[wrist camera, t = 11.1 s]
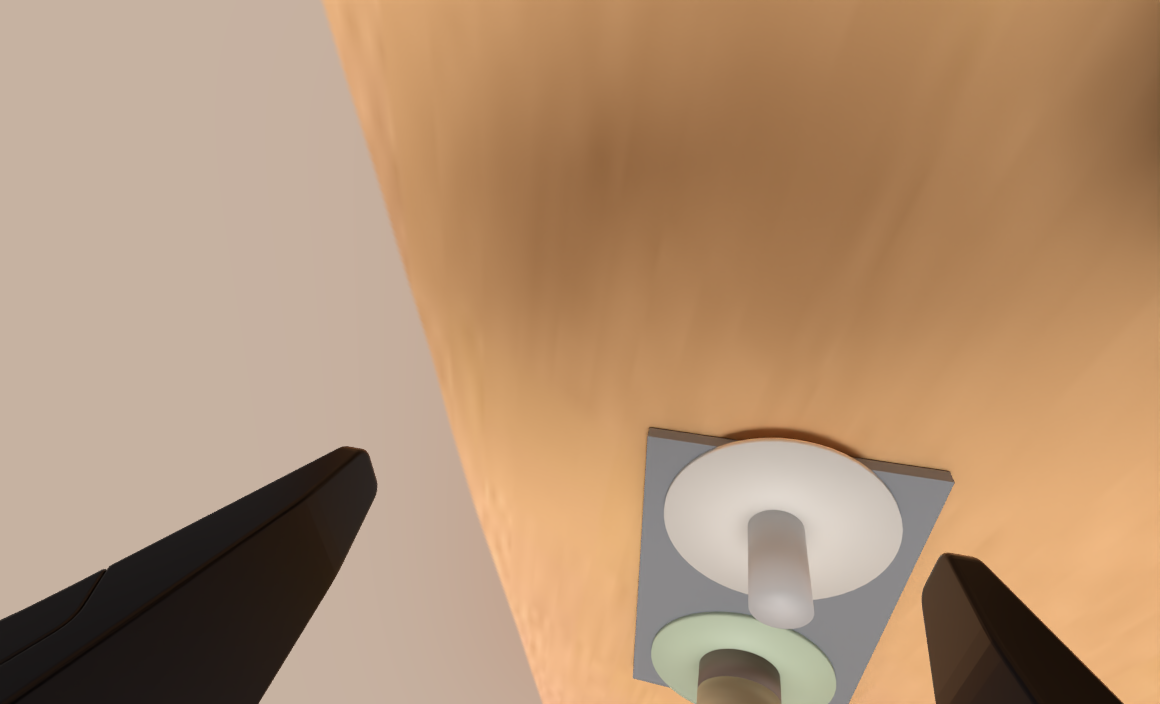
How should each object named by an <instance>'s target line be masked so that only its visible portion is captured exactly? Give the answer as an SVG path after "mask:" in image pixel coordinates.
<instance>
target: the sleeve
mask: <svg viewBox="0 0 1160 704" xmlns="http://www.w3.org/2000/svg"><path fill="white" fill-rule="evenodd" d="M696 704H782V702H781V683H780V674H779V672H778V670H777V669H776V667H775V666H774V665H773V664H772V663H770V662H769V661H768V660H766V659H765V658H763V657H761V656H759V655H756V654H754V653H751V652H747V651H744V650H738V649H718V650H714V651H711V652H708V653H706V654H705V655H704V656H703V657H702V658H701V660H700V662H699V675H698V689H697V703H696Z"/></svg>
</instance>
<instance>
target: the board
mask: <svg viewBox="0 0 1160 704" xmlns="http://www.w3.org/2000/svg"><path fill="white" fill-rule="evenodd" d="M954 483H955V482H954V480H953V478H952V475H951V473H950V472H948V471H942V470H935V469H928V468H921V467H914V466H908V465H901V464H894V463H887V462H880V461H874V460H867V459H860V458H853V457H850V456H848V455H846V454H844V453H842V452H839V451H837V450H835V449H832V448H830V447H826V446H823V445H820V444H816V443H813V442H807V441H802V440H797V439H787V438H756V439H746V440H741V441H738V440H731V439H724V438H717V437H711V436H704V435H697V434H690V433H684V432H677V431H670V430H663V429H656V428H649V433H648V439H647V456H646V472H645V488H644V505H643V521H642V538H641V554H640V570H639V587H638V603H637V620H636V636H635V653H634V669H633V678H634V679H638V680H642V681H646V682H650V683H654V684H658V685H662V686H666V687H670V688H671V689H672V690H674V691H675V692H676V693H678V694H679V695H681V696H682V697H684V698H685V699H687V700H689V701H691V702H692V703H694V704H696V703H697V689H698V675H699V662H700V660H701V658H702V657H703V656H704V655H705V654H706V653H708V652H711V651H714V650H718V649H738V650H744V651H747V652H751V653H754V654H756V655H759V656H761V657H763V658H765V659H766V660H768V661H769V662H770V663H772V664H773V665H774V666H775V667H776V669H777V670H778V672H779V674H780V683H781V702H782V704H849V702H850V700H851V697H852V695H853V693H854V691H855V689H856V687H857V685H858V683H859V681H860V679H861V677H862V675H863V672H864V670H865V668H866V666H867V664H868V662H869V660H870V658H871V656H872V654H873V652H874V650H875V647H876V645H877V643H878V641H879V639H880V637H881V635H882V633H883V631H884V629H885V627H886V625H887V622H888V620H889V618H890V616H891V614H892V612H893V610H894V608H895V606H896V604H897V602H898V600H899V597H900V595H901V593H902V591H903V589H904V587H905V585H906V583H907V581H908V579H909V577H910V575H911V572H912V570H913V568H914V566H915V564H916V562H917V560H918V558H919V556H920V554H921V552H922V550H923V547H924V545H925V543H926V541H927V539H928V537H929V535H930V533H931V531H932V529H933V527H934V524H935V522H936V520H937V518H938V516H939V514H940V512H941V510H942V508H943V506H944V504H945V502H946V499H947V497H948V495H949V493H950V491H951V489H952V487H953V485H954Z"/></svg>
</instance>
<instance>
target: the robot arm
mask: <svg viewBox="0 0 1160 704" xmlns="http://www.w3.org/2000/svg"><path fill="white" fill-rule="evenodd" d="M376 492H377V480H376V476H375V473H374V470H373V467H372V463H371V460H370V456H369V454H368V453H367V451H366V450H364V449H360V448H354V447H348V446H345V447H340V448H338V449H336V450H334V451H332V452H330V453H328V454H327V455H325V456H322V457H321V458H319V459H317V460H315V461H313V462H311V463H309V464H307V465H305V466H303V467H301V468H299V469H298V470H295V471H293V472H291V473H289V474H288V475H286V476H284V477H282V478H280V479H278V480H276V481H274V482H272V483H270V484H268V485H266V486H264V487H262V488H260V489H259V490H256V491H254V492H253V493H251V494H249V495H247V496H245V497H243V498H241V499H239V500H237V501H235V502H233V503H231V504H229V505H227V506H225V507H223V508H221V509H219V510H218V511H216V512H214V513H212V514H210V515H208V516H206V517H204V518H202V519H200V520H198V521H196V522H194V523H192V524H190V525H188V526H186V527H184V528H182V529H181V530H179V531H177V532H175V533H173V534H171V535H169V536H167V537H165V538H163V539H161V540H159V541H157V542H155V543H153V544H151V545H149V546H147V547H146V548H144V549H142V550H140V551H138V552H136V553H134V554H132V555H130V556H128V557H126V558H124V559H122V560H120V561H118V562H116V563H114V564H112V565H111V566H109V568H108V569H107V570H106V569H103V570H101V571H99V572H97V573H95V574H93V575H91V576H89V577H87V578H85V579H83V580H81V581H79V582H77V583H75V584H73V585H72V586H69V587H68V588H65V589H64V590H61V591H59V592H58V593H55V594H53V595H51V596H49V597H47V598H45V599H44V600H41V601H39V602H37V603H35V604H33V605H32V606H29V607H27V608H25V609H23V610H21V611H19V612H17V613H15V614H12V615H10V616H8V617H6V618H4V619H2V620H0V704H259V702H260V700H261V699H262V697H263V695H264V694H265V692H266V691H267V689H268V687H269V686H270V684H271V682H272V680H273V679H274V677H275V676H276V674H277V672H278V671H279V669H280V668H281V666H282V664H283V663H284V661H285V659H286V658H287V656H288V654H289V653H290V651H291V650H292V648H293V646H294V644H295V643H296V641H297V640H298V638H299V637H300V635H301V633H302V632H303V630H304V628H305V627H306V625H307V623H308V622H309V620H310V619H311V617H312V615H313V614H314V612H315V610H316V609H317V607H318V605H319V604H320V602H321V601H322V599H323V597H324V596H325V594H326V592H327V591H328V589H329V587H330V586H331V584H332V582H333V580H334V579H335V577H336V575H337V573H338V572H339V570H340V568H341V566H342V564H343V562H344V560H345V558H346V555H347V554H348V552H349V549H350V548H351V545H352V543H353V541H354V539H355V537H356V535H357V533H358V531H359V529H360V527H361V525H362V523H363V521H364V519H365V517H366V515H367V513H368V510H369V509H370V506H371V504H372V502H373V500H374V498H375V496H376ZM922 609H923V616H924V623H925V630H926V637H927V644H928V651H929V658H930V666H931V673H932V680H933V687H934V694H935V701H936V704H1124V703H1123V702H1122V701H1121V700H1120V699H1119V698H1118V697H1117V696H1116V695H1115V694H1114V693H1113V692H1112V691H1111V690H1110V689H1109V688H1108V687H1107V686H1106V685H1105V684H1104V683H1103V682H1102V681H1101V680H1100V679H1099V678H1098V677H1097V676H1096V675H1095V674H1094V673H1093V672H1092V671H1091V670H1090V669H1089V668H1088V667H1087V666H1086V665H1085V664H1084V663H1083V662H1082V661H1081V660H1080V659H1079V658H1078V657H1077V656H1076V655H1075V654H1074V653H1073V652H1072V651H1071V650H1070V649H1069V648H1068V647H1067V646H1066V645H1065V644H1064V643H1063V642H1062V641H1061V640H1060V639H1059V638H1058V637H1057V636H1056V635H1055V634H1054V633H1053V632H1052V631H1051V630H1050V629H1049V628H1048V627H1047V626H1046V625H1045V624H1044V623H1043V622H1042V621H1041V620H1040V619H1039V618H1038V617H1037V616H1036V615H1035V614H1034V613H1033V612H1032V611H1031V610H1030V609H1029V608H1028V607H1027V606H1026V605H1025V604H1024V603H1023V602H1022V601H1021V600H1020V599H1019V598H1018V597H1017V596H1016V595H1015V594H1014V593H1013V592H1012V591H1011V590H1010V589H1009V588H1008V587H1007V586H1006V585H1005V584H1004V583H1003V582H1002V581H1001V580H1000V579H999V578H998V577H997V576H996V575H995V574H994V573H993V572H992V571H991V570H990V569H989V568H988V567H987V566H986V565H985V564H984V563H983V562H982V561H980V560H979V559H977V558H974V557H970V556H965V555H959V554H953V553H944V554H942V555H941V556H940V557H939V559H938V560H937V562H936V564H935V566H934V568H933V570H932V572H931V574H930V576H929V578H928V580H927V582H926V584H925V586H924V588H923V592H922Z"/></svg>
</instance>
